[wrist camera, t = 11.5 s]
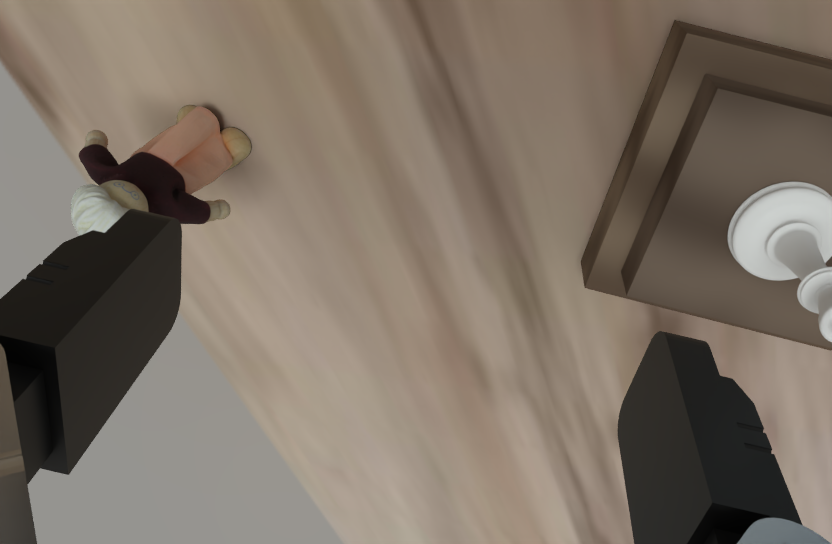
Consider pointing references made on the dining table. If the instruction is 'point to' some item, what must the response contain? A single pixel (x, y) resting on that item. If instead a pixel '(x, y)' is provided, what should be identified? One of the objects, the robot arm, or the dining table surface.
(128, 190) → the grandmother figurine
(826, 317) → the chess piece
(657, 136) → the walnut pedestal
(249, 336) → the dining table surface
